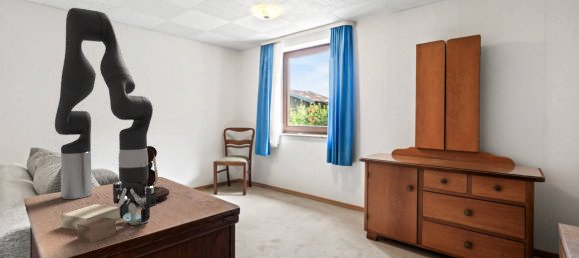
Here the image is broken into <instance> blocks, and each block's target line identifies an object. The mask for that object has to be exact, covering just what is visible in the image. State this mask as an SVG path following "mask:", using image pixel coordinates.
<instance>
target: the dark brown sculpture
mask: <svg viewBox="0 0 579 258" xmlns="http://www.w3.org/2000/svg"><path fill="white" fill-rule="evenodd" d="M147 153H148V179H147V180H146V184H147V186H156V184H157V182H158V180H159V179H158V178H159V174H158V173H159V172H158V167H157V161H156V157H157V155H158V150H157V149H156V148H155V147H154V146H153V145H147ZM152 168H154V170H153V169H152ZM169 195H170V190H169V188H166V187H164V186H156V200H158V202H159V203H161V202H162V199H163V198H165V197H168V196H169ZM142 198H144V197H142ZM142 198H141V199H142ZM134 202H136V200H133V199H130V200H129V204H130V203H133V204H134Z"/></svg>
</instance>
